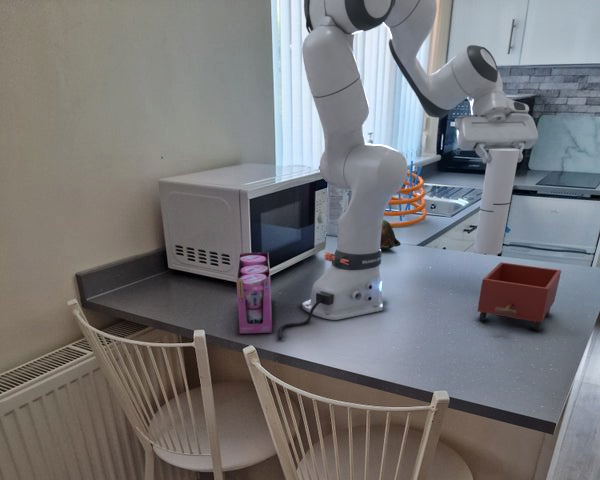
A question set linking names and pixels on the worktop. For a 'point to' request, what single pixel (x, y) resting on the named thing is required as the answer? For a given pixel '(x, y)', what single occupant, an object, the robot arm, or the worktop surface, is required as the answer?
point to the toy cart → (519, 292)
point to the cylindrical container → (495, 200)
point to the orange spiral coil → (409, 200)
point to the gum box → (254, 293)
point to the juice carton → (335, 208)
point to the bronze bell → (388, 236)
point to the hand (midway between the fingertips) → (503, 161)
